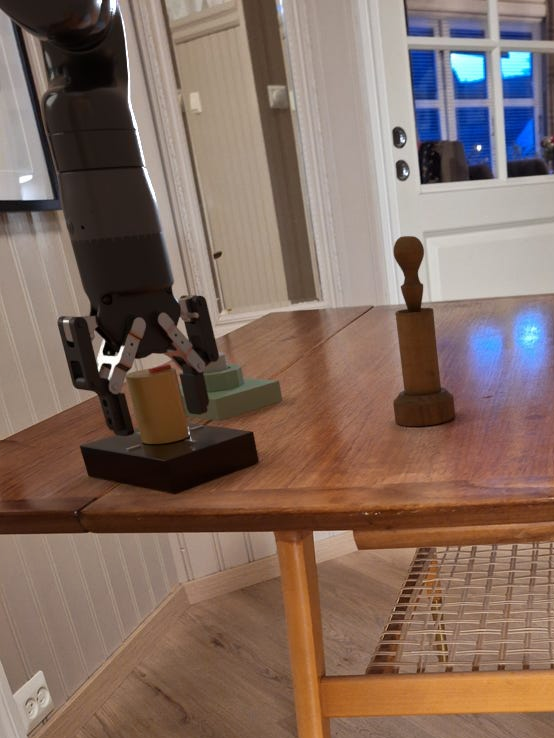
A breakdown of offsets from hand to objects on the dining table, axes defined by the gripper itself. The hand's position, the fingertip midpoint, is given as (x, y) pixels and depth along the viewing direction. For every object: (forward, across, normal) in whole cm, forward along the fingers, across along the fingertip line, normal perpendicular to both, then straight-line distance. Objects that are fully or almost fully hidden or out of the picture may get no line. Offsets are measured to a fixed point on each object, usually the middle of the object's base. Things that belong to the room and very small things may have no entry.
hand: (162, 423), depth 81 cm
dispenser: (+4, +20, +17) cm, 27 cm away
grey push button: (0, +20, +17) cm, 26 cm away
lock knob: (+1, 0, 0) cm, 1 cm away
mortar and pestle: (+5, +24, -12) cm, 27 cm away
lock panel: (+4, 0, 0) cm, 4 cm away
